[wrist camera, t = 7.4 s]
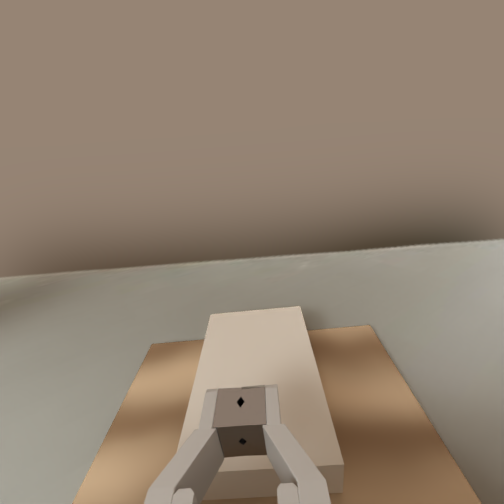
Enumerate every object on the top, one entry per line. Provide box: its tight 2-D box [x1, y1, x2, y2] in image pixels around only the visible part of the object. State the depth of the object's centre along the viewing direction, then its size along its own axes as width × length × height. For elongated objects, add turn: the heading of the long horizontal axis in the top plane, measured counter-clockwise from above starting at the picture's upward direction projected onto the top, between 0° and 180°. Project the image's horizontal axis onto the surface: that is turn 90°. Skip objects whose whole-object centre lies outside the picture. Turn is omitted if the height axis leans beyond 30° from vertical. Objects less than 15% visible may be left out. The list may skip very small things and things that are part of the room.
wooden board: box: [72, 325, 481, 504], centre depth 16 cm, size 16×20×1 cm
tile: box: [176, 306, 344, 500], centre depth 18 cm, size 2×8×12 cm
